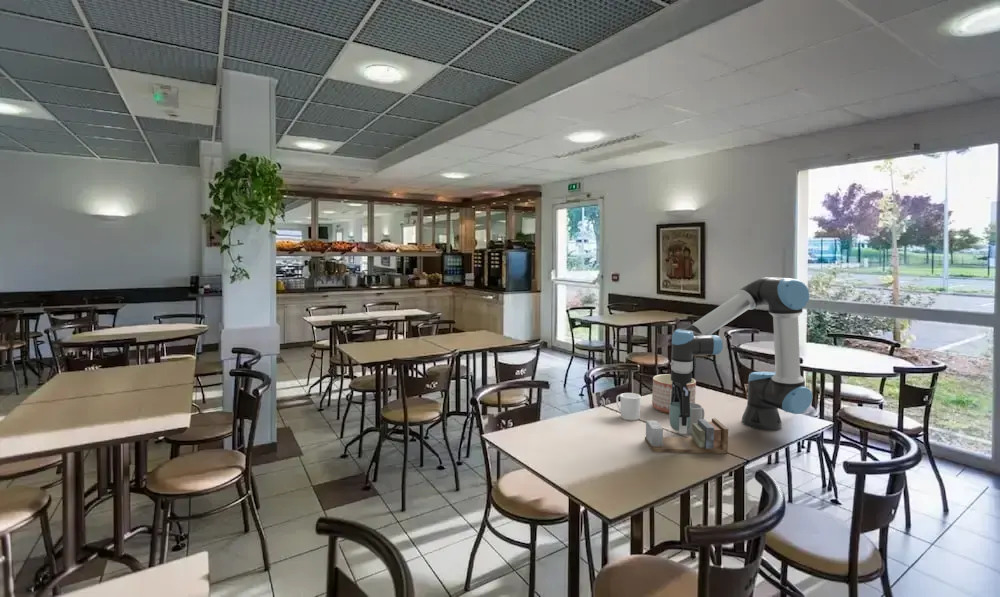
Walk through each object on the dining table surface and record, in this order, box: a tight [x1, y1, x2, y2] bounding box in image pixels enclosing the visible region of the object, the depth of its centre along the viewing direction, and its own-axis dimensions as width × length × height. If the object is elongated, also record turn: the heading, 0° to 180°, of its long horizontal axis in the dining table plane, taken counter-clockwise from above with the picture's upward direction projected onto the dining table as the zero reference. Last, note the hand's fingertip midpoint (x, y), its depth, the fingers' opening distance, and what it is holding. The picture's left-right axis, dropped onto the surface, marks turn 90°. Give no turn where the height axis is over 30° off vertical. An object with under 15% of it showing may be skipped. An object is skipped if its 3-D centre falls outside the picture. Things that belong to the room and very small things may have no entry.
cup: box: [668, 402, 691, 432], centre depth 188 cm, size 8×8×10 cm
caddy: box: [644, 417, 729, 454], centre depth 189 cm, size 28×12×9 cm, turn 88°
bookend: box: [645, 419, 664, 447], centre depth 189 cm, size 4×9×7 cm, turn 178°
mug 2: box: [687, 402, 705, 435], centre depth 206 cm, size 12×8×11 cm
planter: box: [651, 373, 697, 415], centre depth 232 cm, size 19×19×15 cm
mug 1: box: [615, 392, 642, 422], centre depth 221 cm, size 11×9×10 cm
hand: (679, 429), depth 188 cm, fingers closed on cup, 8 cm apart
